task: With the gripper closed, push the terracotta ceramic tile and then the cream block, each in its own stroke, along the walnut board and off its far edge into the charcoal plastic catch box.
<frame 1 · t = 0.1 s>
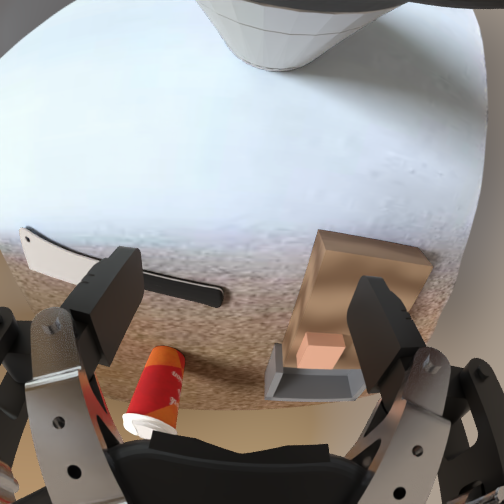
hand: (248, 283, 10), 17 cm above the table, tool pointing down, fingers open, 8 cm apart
kitchen cleaver: (108, 276, 33), on the table
terracotta tile: (318, 345, 31), point 4 cm above the table, touching walnut board
paper cup: (168, 355, 40), on the table
walnut board: (347, 301, 33), on the table
catch box: (316, 362, 39), on the table
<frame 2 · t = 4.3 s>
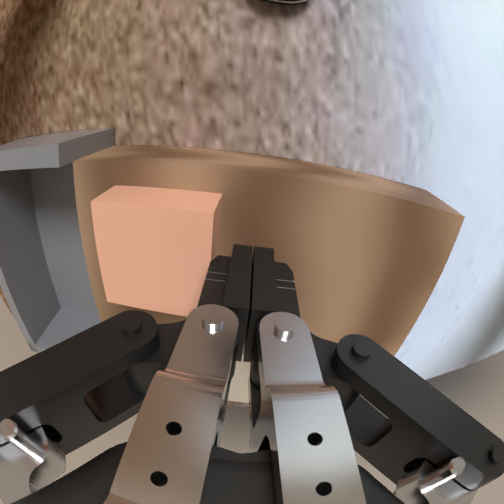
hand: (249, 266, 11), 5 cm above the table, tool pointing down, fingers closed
terracotta tile: (165, 239, 11), point 4 cm above the table, touching gripper, walnut board
walnut board: (261, 266, 16), on the table
cream block: (244, 352, 15), point 4 cm above the table, touching walnut board
catch box: (72, 241, 16), on the table
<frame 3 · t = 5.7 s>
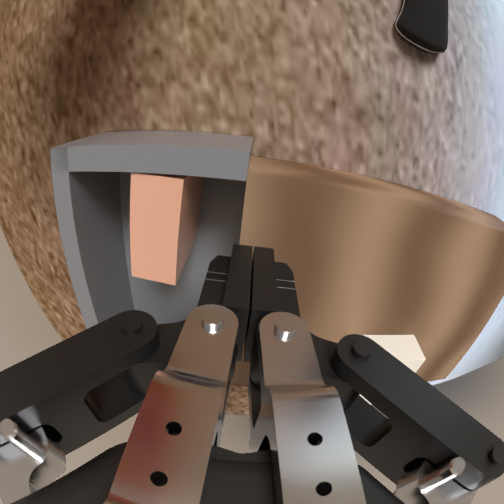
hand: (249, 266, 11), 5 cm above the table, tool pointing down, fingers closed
terracotta tile: (191, 215, 12), point 3 cm above the table, tilted 90°, touching catch box
walnut board: (376, 281, 17), on the table
cream block: (368, 360, 15), point 4 cm above the table, touching walnut board
catch box: (172, 258, 16), on the table
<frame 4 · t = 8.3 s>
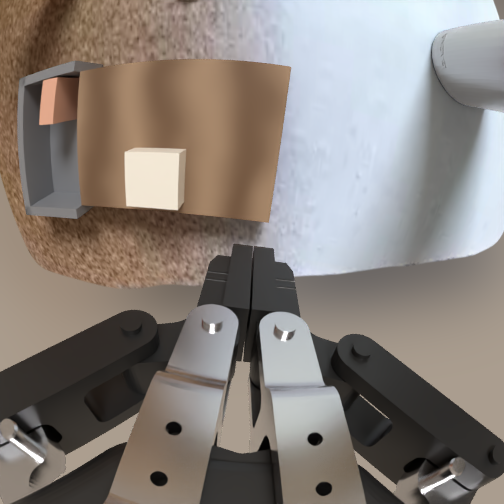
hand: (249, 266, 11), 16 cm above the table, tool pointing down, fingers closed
terracotta tile: (68, 99, 18), point 3 cm above the table, tilted 90°, touching catch box
walnut board: (179, 132, 23), on the table
cream block: (159, 174, 21), point 4 cm above the table, touching walnut board
catch box: (70, 135, 23), on the table
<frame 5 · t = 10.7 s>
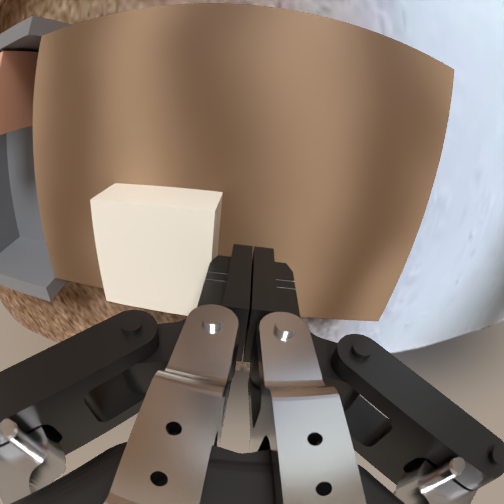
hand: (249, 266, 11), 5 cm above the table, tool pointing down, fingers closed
terracotta tile: (24, 89, 8), point 3 cm above the table, tilted 90°, touching catch box
walnut board: (226, 151, 13), on the table
cream block: (165, 238, 11), point 4 cm above the table, touching gripper
catch box: (35, 150, 13), on the table
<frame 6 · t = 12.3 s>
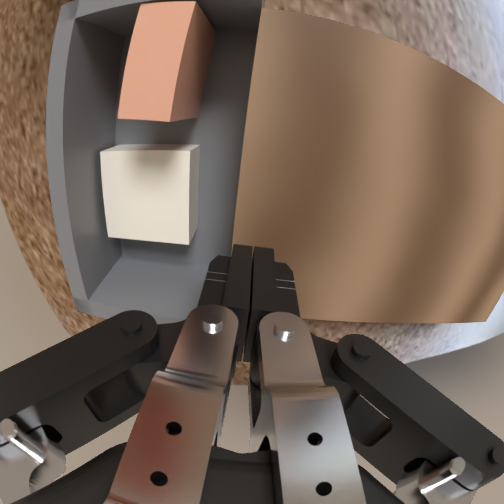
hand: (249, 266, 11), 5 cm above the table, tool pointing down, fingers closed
terracotta tile: (196, 67, 9), point 3 cm above the table, tilted 90°, touching catch box
walnut board: (404, 186, 13), on the table
cream block: (143, 197, 12), point 2 cm above the table, tilted 180°, touching catch box
catch box: (168, 149, 13), on the table
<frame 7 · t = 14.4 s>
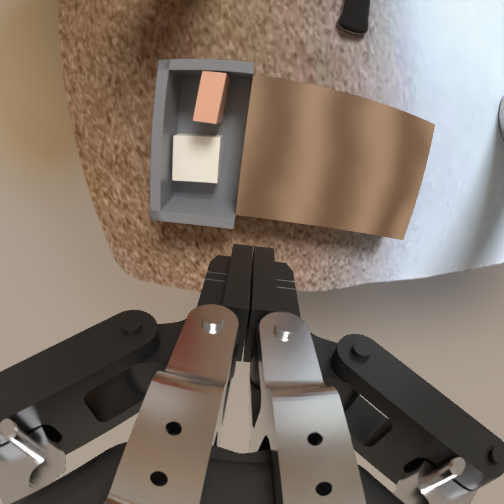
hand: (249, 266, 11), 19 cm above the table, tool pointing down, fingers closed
terracotta tile: (224, 99, 22), point 3 cm above the table, tilted 90°, touching catch box
walnut board: (332, 155, 26), on the table
cream block: (195, 159, 25), point 2 cm above the table, tilted 180°, touching catch box
catch box: (206, 137, 26), on the table
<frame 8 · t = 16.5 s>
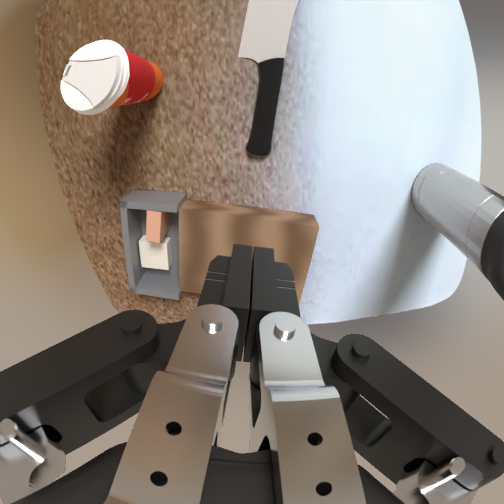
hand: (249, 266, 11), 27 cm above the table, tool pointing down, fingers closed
kitchen cleaver: (262, 41, 27), on the table
terracotta tile: (165, 221, 36), point 3 cm above the table, tilted 90°, touching catch box
paper cup: (145, 82, 29), on the table
walnut board: (245, 247, 41), on the table
cream block: (153, 255, 39), point 2 cm above the table, tilted 180°, touching catch box
catch box: (160, 237, 41), on the table
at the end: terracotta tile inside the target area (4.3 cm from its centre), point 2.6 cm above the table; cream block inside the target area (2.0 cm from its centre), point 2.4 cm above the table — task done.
